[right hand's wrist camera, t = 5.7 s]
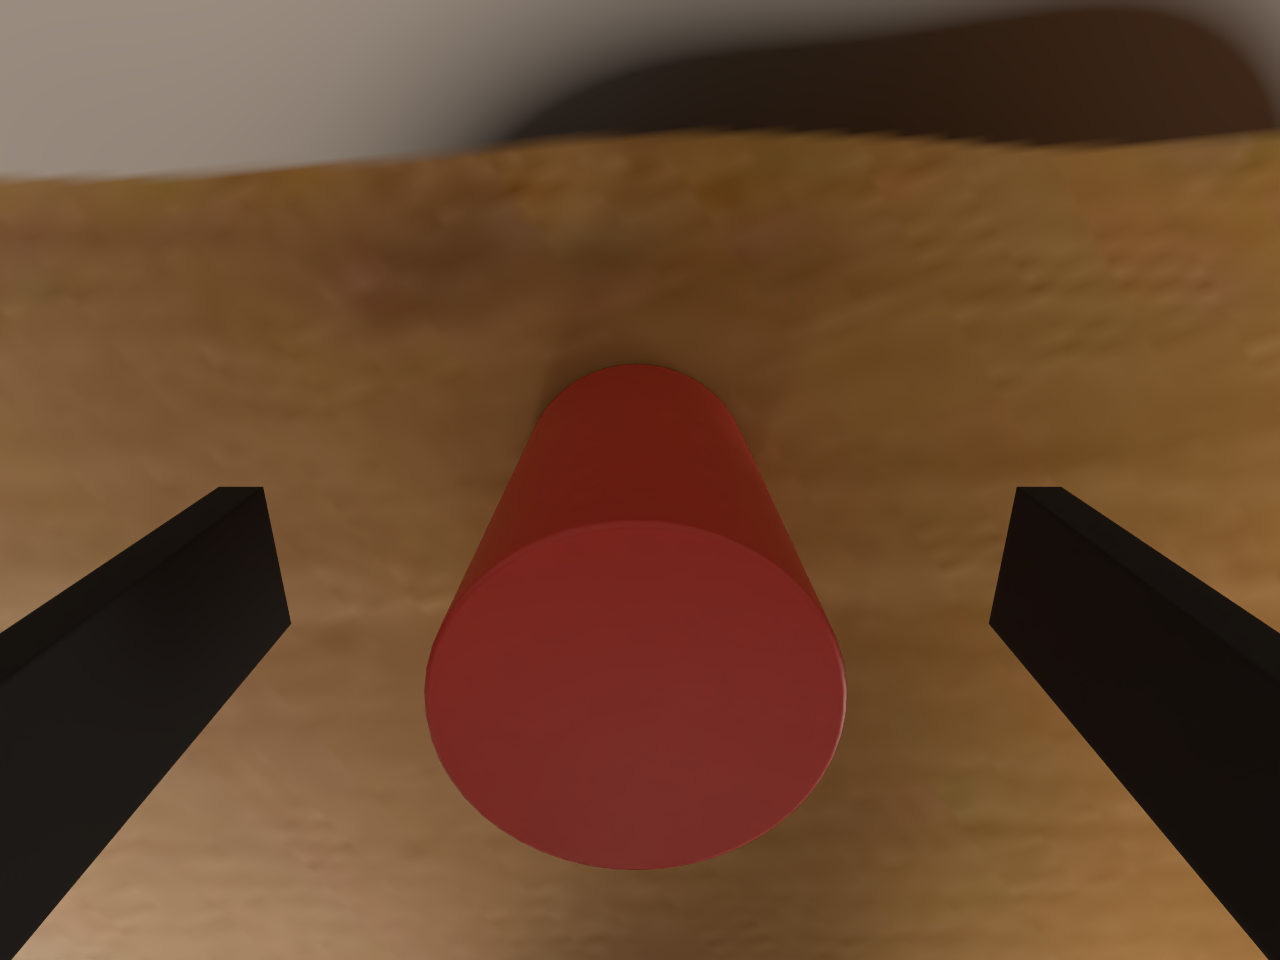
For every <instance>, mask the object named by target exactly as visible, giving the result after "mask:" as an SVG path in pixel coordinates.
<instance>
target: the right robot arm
mask: <svg viewBox="0 0 1280 960" xmlns="http://www.w3.org/2000/svg"><path fill="white" fill-rule="evenodd" d="M290 624H291V621H290V616H289V611H288V606H287V601H286V596H285V592H284V587H283V582H282V577H281V572H280V567H279V562H278V557H277V553H276V548H275V543H274V538H273V533H272V528H271V523H270V518H269V513H268V509H267V504H266V499H265V494H264V489H263V487H218V488H216V489H215V490H213V491H212V492H211V493H209V494H208V495H206V496H205V497H203V498H202V499H200V500H199V501H197V502H196V503H194V504H193V505H191V506H190V507H188V508H187V509H185V510H184V511H182V512H181V513H179V514H178V515H176V516H175V517H173V518H172V519H170V520H169V521H167V522H166V523H164V524H163V525H161V526H160V527H158V528H157V529H155V530H154V531H152V532H151V533H149V534H148V535H146V536H145V537H143V538H142V539H140V540H139V541H137V542H136V543H134V544H133V545H131V546H130V547H128V548H127V549H125V550H124V551H122V552H121V553H119V554H118V555H117V556H115V557H114V558H112V559H111V560H109V561H108V562H106V563H105V564H103V565H102V566H100V567H99V568H97V569H96V570H94V571H93V572H91V573H90V574H88V575H87V576H85V577H84V578H82V579H81V580H79V581H78V582H76V583H75V584H73V585H72V586H70V587H69V588H67V589H66V590H64V591H63V592H61V593H60V594H58V595H57V596H55V597H54V598H52V599H51V600H49V601H48V602H46V603H45V604H43V605H42V606H40V607H39V608H37V609H36V610H34V611H33V612H31V613H30V614H28V615H27V616H26V617H24V618H23V619H21V620H20V621H18V622H17V623H15V624H14V625H12V626H11V627H9V628H8V629H6V630H5V631H3V632H2V633H0V960H12V958H13V957H14V956H15V955H16V954H17V952H18V951H19V950H20V949H21V948H22V946H23V945H24V944H25V943H26V942H27V940H28V939H29V938H30V937H31V936H32V934H33V933H34V932H35V931H36V930H37V928H38V927H39V926H40V925H41V924H42V922H43V921H44V920H45V919H46V917H47V916H48V915H49V914H50V913H51V911H52V910H53V909H54V908H55V907H56V905H57V904H58V903H59V902H60V901H61V899H62V898H63V897H64V896H65V895H66V893H67V892H68V891H69V890H70V889H71V887H72V886H73V885H74V884H75V883H76V881H77V880H78V879H79V878H80V877H81V875H82V874H83V873H84V872H85V871H86V869H87V868H88V867H89V866H90V865H91V863H92V862H93V861H94V860H95V859H96V857H97V856H98V855H99V854H100V853H101V851H102V850H103V849H104V848H105V847H106V845H107V844H108V843H109V842H110V841H111V839H112V838H113V837H114V836H115V835H116V833H117V832H118V831H119V830H120V829H121V827H122V826H123V825H124V824H125V823H126V821H127V820H128V819H129V818H130V817H131V815H132V814H133V813H134V812H135V811H136V809H137V808H138V807H139V806H140V805H141V803H142V802H143V801H144V800H145V799H146V797H147V796H148V795H149V794H150V793H151V791H152V790H153V789H154V788H155V787H156V785H157V784H158V783H159V782H160V781H161V779H162V778H163V777H164V776H165V775H166V773H167V772H168V771H169V770H170V769H171V767H172V766H173V765H174V764H175V763H176V761H177V760H178V759H179V758H180V757H181V755H182V754H183V753H184V752H185V751H186V749H187V748H188V747H189V746H190V745H191V743H192V742H193V741H194V740H195V739H196V737H197V736H198V735H199V734H200V733H201V731H202V730H203V729H204V728H205V727H206V725H207V724H208V723H209V722H210V721H211V719H212V718H213V717H214V716H215V715H216V713H217V712H218V711H219V710H220V708H221V707H222V706H223V705H224V704H225V702H226V701H227V700H228V699H229V698H230V696H231V695H232V694H233V693H234V692H235V690H236V689H237V688H238V687H239V686H240V684H241V683H242V682H243V681H244V680H245V678H246V677H247V676H248V675H249V674H250V672H251V671H252V670H253V669H254V668H255V666H256V665H257V664H258V663H259V662H260V660H261V659H262V658H263V657H264V656H265V654H266V653H267V652H268V651H269V650H270V648H271V647H272V646H273V645H274V644H275V642H276V641H277V640H278V639H279V638H280V636H281V635H282V634H283V633H284V632H285V630H286V629H287V628H288V627H289V626H290ZM989 624H990V626H991V627H992V628H993V629H994V630H995V632H996V633H997V634H998V635H999V636H1000V638H1001V639H1002V640H1003V641H1004V642H1005V644H1006V645H1007V646H1008V647H1009V648H1010V650H1011V651H1012V652H1013V653H1014V654H1015V656H1016V657H1017V658H1018V659H1019V660H1020V662H1021V663H1022V664H1023V665H1024V666H1025V668H1026V669H1027V670H1028V671H1029V672H1030V674H1031V675H1032V676H1033V677H1034V679H1035V680H1036V681H1037V682H1038V683H1039V685H1040V686H1041V687H1042V688H1043V689H1044V691H1045V692H1046V693H1047V694H1048V695H1049V697H1050V698H1051V699H1052V700H1053V701H1054V703H1055V704H1056V705H1057V706H1058V707H1059V709H1060V710H1061V711H1062V712H1063V713H1064V715H1065V716H1066V717H1067V718H1068V719H1069V721H1070V722H1071V723H1072V724H1073V725H1074V727H1075V728H1076V729H1077V730H1078V731H1079V733H1080V734H1081V735H1082V736H1083V737H1084V739H1085V740H1086V741H1087V742H1088V743H1089V745H1090V746H1091V747H1092V748H1093V749H1094V751H1095V752H1096V753H1097V754H1098V755H1099V757H1100V758H1101V759H1102V760H1103V761H1104V763H1105V764H1106V765H1107V766H1108V767H1109V769H1110V770H1111V771H1112V772H1113V773H1114V775H1115V776H1116V777H1117V778H1118V779H1119V781H1120V782H1121V783H1122V784H1123V785H1124V787H1125V788H1126V789H1127V790H1128V791H1129V793H1130V794H1131V795H1132V796H1133V797H1134V799H1135V800H1136V801H1137V802H1138V803H1139V805H1140V806H1141V807H1142V808H1143V809H1144V811H1145V812H1146V813H1147V814H1148V815H1149V817H1150V818H1151V819H1152V820H1153V821H1154V823H1155V824H1156V825H1157V826H1158V827H1159V829H1160V830H1161V831H1162V832H1163V833H1164V835H1165V836H1166V837H1167V838H1168V839H1169V841H1170V842H1171V843H1172V844H1173V845H1174V847H1175V848H1176V849H1177V850H1178V851H1179V853H1180V854H1181V855H1182V856H1183V857H1184V859H1185V860H1186V861H1187V862H1188V863H1189V865H1190V866H1191V867H1192V868H1193V869H1194V871H1195V872H1196V873H1197V874H1198V875H1199V877H1200V878H1201V879H1202V880H1203V881H1204V883H1205V884H1206V885H1207V886H1208V888H1209V889H1210V890H1211V891H1212V892H1213V894H1214V895H1215V896H1216V897H1217V898H1218V900H1219V901H1220V902H1221V903H1222V904H1223V906H1224V907H1225V908H1226V909H1227V910H1228V912H1229V913H1230V914H1231V915H1232V916H1233V918H1234V919H1235V920H1236V921H1237V922H1238V924H1239V925H1240V926H1241V927H1242V928H1243V930H1244V931H1245V932H1246V933H1247V934H1248V936H1249V937H1250V938H1251V939H1252V940H1253V942H1254V943H1255V944H1256V945H1257V946H1258V948H1259V949H1260V950H1261V951H1262V952H1263V954H1264V955H1265V956H1266V957H1267V958H1268V960H1280V633H1278V632H1277V631H1275V630H1274V629H1272V628H1271V627H1269V626H1268V625H1266V624H1265V623H1263V622H1262V621H1260V620H1259V619H1257V618H1256V617H1254V616H1253V615H1251V614H1250V613H1248V612H1247V611H1246V610H1244V609H1243V608H1241V607H1240V606H1238V605H1237V604H1235V603H1234V602H1232V601H1231V600H1229V599H1228V598H1226V597H1225V596H1223V595H1222V594H1220V593H1219V592H1217V591H1216V590H1214V589H1213V588H1211V587H1210V586H1208V585H1207V584H1205V583H1204V582H1202V581H1201V580H1199V579H1198V578H1196V577H1195V576H1193V575H1192V574H1190V573H1189V572H1187V571H1186V570H1184V569H1183V568H1181V567H1180V566H1178V565H1177V564H1175V563H1174V562H1172V561H1171V560H1169V559H1168V558H1166V557H1165V556H1163V555H1162V554H1160V553H1159V552H1157V551H1156V550H1155V549H1153V548H1152V547H1150V546H1149V545H1147V544H1146V543H1144V542H1143V541H1141V540H1140V539H1138V538H1137V537H1135V536H1134V535H1132V534H1131V533H1129V532H1128V531H1126V530H1125V529H1123V528H1122V527H1120V526H1119V525H1117V524H1116V523H1114V522H1113V521H1111V520H1110V519H1108V518H1107V517H1105V516H1104V515H1102V514H1101V513H1099V512H1098V511H1096V510H1095V509H1093V508H1092V507H1090V506H1089V505H1087V504H1086V503H1084V502H1083V501H1081V500H1080V499H1078V498H1077V497H1075V496H1074V495H1072V494H1071V493H1069V492H1068V491H1066V490H1065V489H1063V488H1062V487H1017V489H1016V494H1015V499H1014V504H1013V508H1012V513H1011V518H1010V523H1009V528H1008V533H1007V538H1006V543H1005V547H1004V552H1003V557H1002V562H1001V567H1000V572H999V577H998V582H997V587H996V591H995V596H994V601H993V606H992V611H991V616H990V621H989Z"/></svg>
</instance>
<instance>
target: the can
mask: <svg viewBox="0 0 1280 960" xmlns="http://www.w3.org/2000/svg"><path fill="white" fill-rule="evenodd" d="M424 693H425V708H426V717H427V721H428V726H429V730H430V734H431V739H432V742H433V744H434V747H435V749H436V752H437V754H438V757H439V759H440V761H441V763H442V765H443V767H444V768H445V770H446V772H447V774H448V775H449V777H450V779H451V780H452V782H453V783H454V784H455V786H456V787H457V788H458V790H459V791H460V792H461V794H462V795H463V796H464V797H465V799H466V800H467V801H468V802H469V803H470V804H471V805H472V806H473V807H474V808H475V809H476V810H477V811H478V812H479V813H480V814H481V815H483V816H484V817H485V818H486V819H488V820H489V821H490V822H492V823H493V824H494V825H495V826H497V827H498V828H499V829H501V830H502V831H504V832H506V833H507V834H509V835H510V836H512V837H514V838H515V839H517V840H519V841H520V842H522V843H524V844H527V845H529V846H531V847H533V848H535V849H537V850H539V851H541V852H544V853H547V854H550V855H553V856H555V857H558V858H561V859H564V860H568V861H572V862H576V863H580V864H584V865H589V866H596V867H603V868H610V869H628V870H645V869H662V868H669V867H675V866H682V865H688V864H692V863H695V862H699V861H703V860H707V859H711V858H714V857H716V856H719V855H722V854H724V853H727V852H729V851H732V850H735V849H737V848H739V847H741V846H743V845H745V844H747V843H749V842H751V841H753V840H755V839H756V838H758V837H760V836H761V835H763V834H764V833H766V832H767V831H769V830H770V829H772V828H773V827H775V826H776V825H778V824H779V823H780V822H781V821H782V820H784V819H785V818H786V817H787V816H788V815H790V814H791V813H792V812H793V811H794V810H795V809H796V808H797V807H798V806H799V805H800V804H801V803H802V802H803V801H804V800H805V799H806V798H807V796H808V795H809V794H810V793H811V792H812V790H813V789H814V788H815V786H816V785H817V783H818V782H819V781H820V779H821V778H822V776H823V775H824V773H825V771H826V769H827V767H828V765H829V764H830V762H831V760H832V758H833V756H834V753H835V751H836V748H837V745H838V742H839V739H840V736H841V733H842V728H843V723H844V718H845V713H846V701H847V682H846V675H845V667H844V661H843V658H842V654H841V651H840V648H839V644H838V641H837V638H836V636H835V634H834V632H833V630H832V628H831V626H830V623H829V621H828V619H827V617H826V615H825V613H824V610H823V608H822V606H821V604H820V602H819V600H818V598H817V595H816V593H815V591H814V589H813V587H812V585H811V583H810V580H809V578H808V576H807V574H806V572H805V570H804V567H803V565H802V563H801V561H800V559H799V557H798V555H797V552H796V550H795V548H794V546H793V544H792V542H791V540H790V537H789V535H788V533H787V531H786V529H785V527H784V524H783V522H782V520H781V518H780V516H779V514H778V512H777V509H776V507H775V505H774V503H773V501H772V499H771V497H770V494H769V492H768V490H767V488H766V486H765V484H764V481H763V479H762V477H761V475H760V473H759V471H758V469H757V466H756V464H755V462H754V460H753V458H752V456H751V454H750V451H749V449H748V447H747V445H746V443H745V441H744V439H743V436H742V434H741V432H740V430H739V428H738V426H737V424H736V422H735V420H734V418H733V416H732V415H731V413H730V412H729V410H728V409H727V407H726V406H725V405H724V404H723V403H722V402H721V401H720V399H719V398H718V397H717V396H716V395H715V394H713V393H712V392H711V391H710V390H709V389H708V388H706V387H705V386H704V385H702V384H701V383H699V382H697V381H696V380H694V379H693V378H691V377H688V376H686V375H684V374H682V373H680V372H677V371H674V370H671V369H668V368H664V367H659V366H653V365H642V364H631V365H619V366H614V367H610V368H605V369H602V370H599V371H596V372H594V373H591V374H589V375H587V376H585V377H583V378H581V379H579V380H577V381H576V382H574V383H573V384H571V385H570V386H568V387H567V388H565V389H564V390H563V391H562V392H561V393H560V394H559V395H558V396H557V397H556V398H554V400H553V401H552V402H551V403H550V404H549V406H548V407H547V408H546V409H545V411H544V412H543V414H542V415H541V417H540V419H539V420H538V422H537V424H536V426H535V428H534V430H533V432H532V434H531V437H530V439H529V441H528V443H527V445H526V447H525V449H524V451H523V453H522V456H521V458H520V460H519V462H518V464H517V466H516V468H515V470H514V472H513V475H512V477H511V479H510V481H509V483H508V485H507V487H506V489H505V491H504V494H503V496H502V498H501V500H500V502H499V504H498V506H497V508H496V510H495V513H494V515H493V517H492V519H491V521H490V523H489V525H488V527H487V529H486V532H485V534H484V536H483V538H482V540H481V542H480V544H479V546H478V548H477V551H476V553H475V555H474V557H473V559H472V561H471V563H470V565H469V567H468V570H467V572H466V574H465V576H464V578H463V580H462V582H461V584H460V586H459V588H458V591H457V593H456V595H455V597H454V599H453V601H452V603H451V605H450V607H449V610H448V612H447V614H446V616H445V618H444V620H443V622H442V625H441V627H440V629H439V631H438V634H437V636H436V638H435V640H434V643H433V645H432V649H431V653H430V657H429V660H428V664H427V669H426V679H425V690H424Z"/></svg>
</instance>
